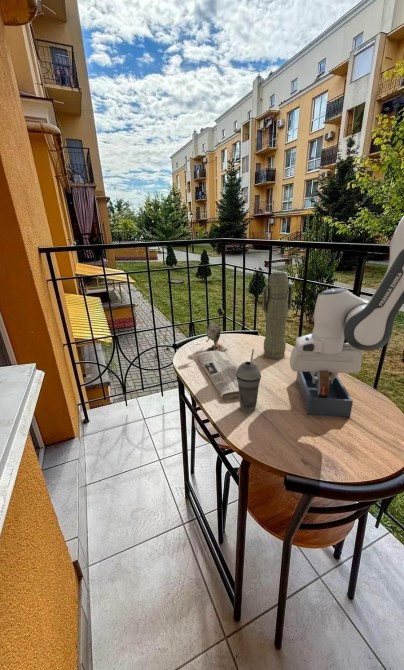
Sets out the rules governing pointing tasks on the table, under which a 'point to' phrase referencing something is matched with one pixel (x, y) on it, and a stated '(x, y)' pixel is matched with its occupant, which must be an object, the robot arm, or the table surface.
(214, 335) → the plant with pod
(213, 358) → the newspaper
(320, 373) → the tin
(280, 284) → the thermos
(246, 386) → the beverage cup
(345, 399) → the bin
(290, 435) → the table surface
